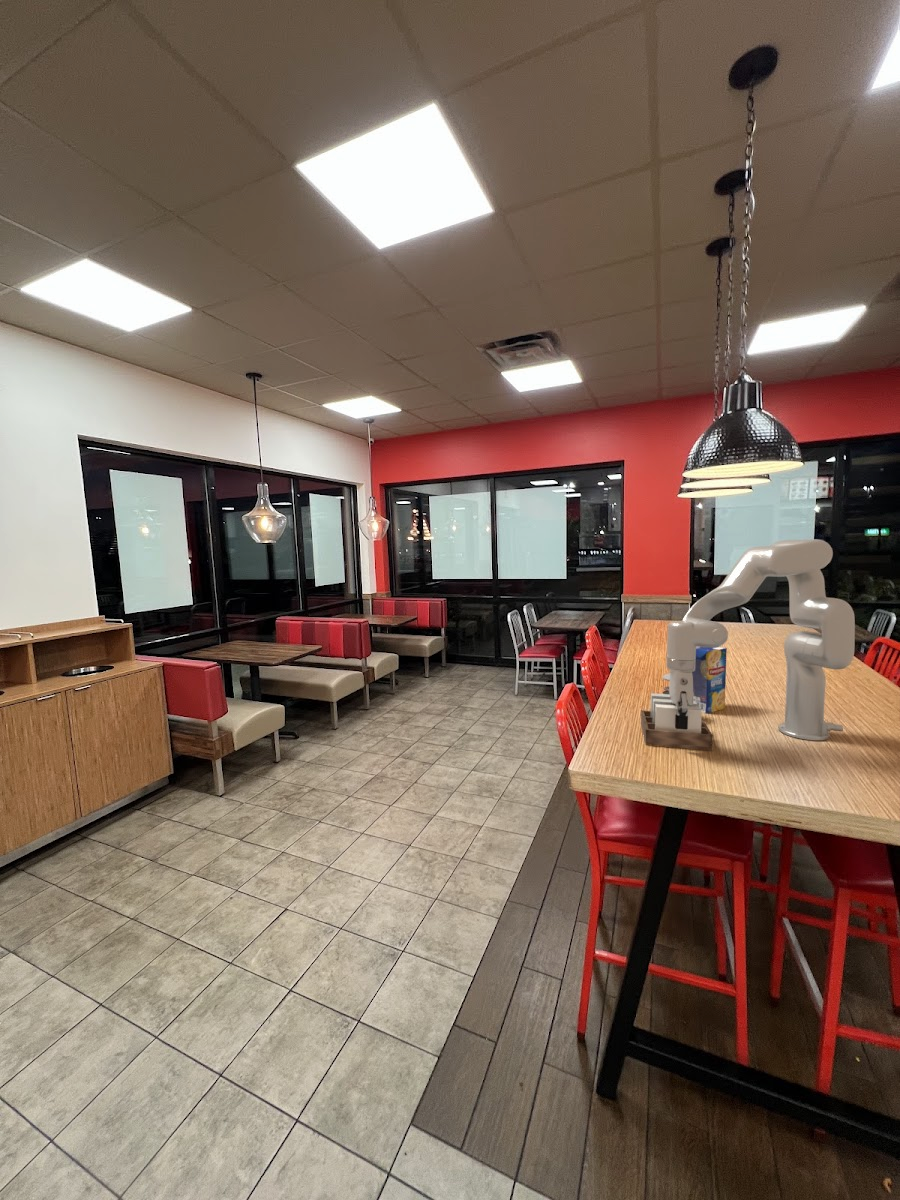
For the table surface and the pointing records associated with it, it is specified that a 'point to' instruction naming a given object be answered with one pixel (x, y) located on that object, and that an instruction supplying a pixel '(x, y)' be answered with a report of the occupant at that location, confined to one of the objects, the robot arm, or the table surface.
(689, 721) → the plate
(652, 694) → the racked plate far
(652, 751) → the table surface
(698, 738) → the rack
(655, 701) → the racked plate mid
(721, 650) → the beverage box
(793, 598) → the robot arm
